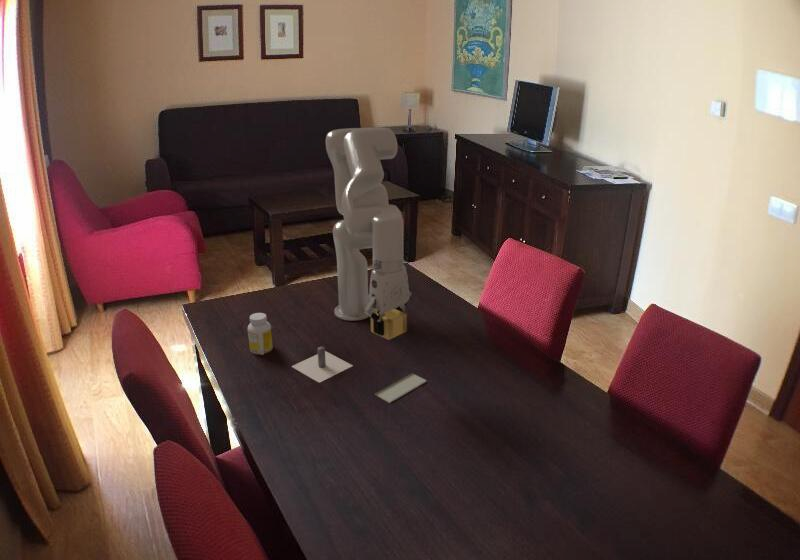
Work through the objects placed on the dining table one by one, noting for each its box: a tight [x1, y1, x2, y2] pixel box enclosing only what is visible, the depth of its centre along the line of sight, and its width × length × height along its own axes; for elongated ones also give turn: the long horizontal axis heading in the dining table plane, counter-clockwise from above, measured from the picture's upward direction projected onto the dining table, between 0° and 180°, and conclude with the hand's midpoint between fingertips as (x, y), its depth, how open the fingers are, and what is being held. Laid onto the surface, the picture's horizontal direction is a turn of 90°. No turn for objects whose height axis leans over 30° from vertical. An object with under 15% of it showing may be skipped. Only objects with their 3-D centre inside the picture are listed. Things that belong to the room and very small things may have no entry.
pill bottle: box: [247, 312, 274, 356], centre depth 183 cm, size 6×6×12 cm
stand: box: [291, 346, 354, 383], centre depth 175 cm, size 12×12×6 cm
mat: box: [373, 372, 427, 404], centre depth 170 cm, size 14×14×1 cm
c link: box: [370, 308, 408, 341], centre depth 164 cm, size 6×6×5 cm
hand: (388, 328), depth 164 cm, fingers closed on c link, 6 cm apart
